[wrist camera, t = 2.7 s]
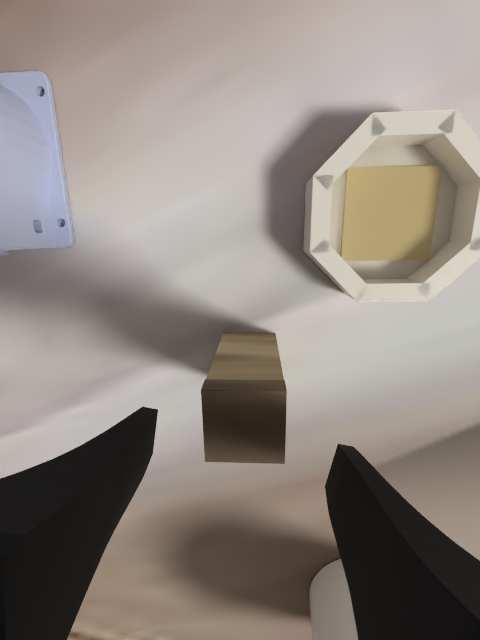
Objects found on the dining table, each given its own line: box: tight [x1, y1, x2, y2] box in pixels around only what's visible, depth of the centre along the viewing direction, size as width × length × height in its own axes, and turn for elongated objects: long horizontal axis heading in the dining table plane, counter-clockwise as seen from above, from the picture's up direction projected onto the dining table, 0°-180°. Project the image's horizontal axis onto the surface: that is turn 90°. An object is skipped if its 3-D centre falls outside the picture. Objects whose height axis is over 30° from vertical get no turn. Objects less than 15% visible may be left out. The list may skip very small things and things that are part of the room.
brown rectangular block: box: [201, 333, 287, 464], centre depth 17 cm, size 4×4×8 cm
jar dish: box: [303, 109, 480, 302], centre depth 17 cm, size 9×9×2 cm
